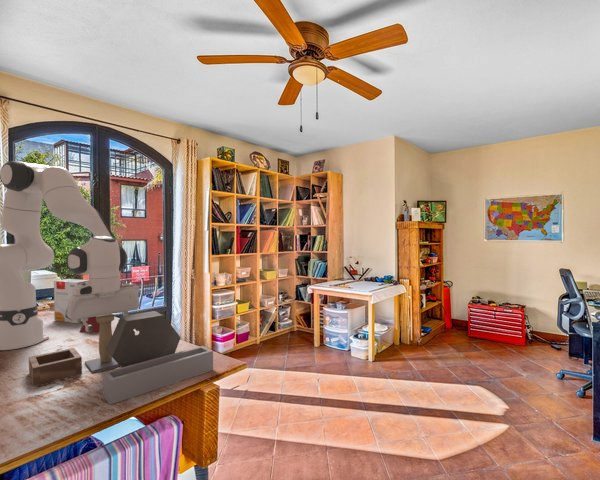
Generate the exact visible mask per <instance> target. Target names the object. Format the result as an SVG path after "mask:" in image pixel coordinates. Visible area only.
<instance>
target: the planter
mask: <svg viewBox="0 0 600 480" xmlns="http://www.w3.org/2000/svg"><path fill="white" fill-rule="evenodd" d="M118 320H119V321H118V322H117V324H116V326H115V328H114V331H113V332H112V337H111V340H110V342H109V344H108V347H107V349H106V350H107V351H108V353H109V354H110V355H111V356H112V358H113V359H114V360H115V361H116V362H117V363H118V364H119V365H120V366H119V367H120V368H122V367H126V366H129V365H133V364H137V363H141V362H144V361H148V360H152V359H155V358H159V357H163V356H167V355H170V354H174V353H176V351H177V348H178V347H179V346H178V345H179V343H180V340H181V335H180V334H179V332H177V331H176V329H175V328H174V327H173V326H172V325H171V323H170V322H169V320H167V318H166V317H165V315H164V314H161V313H160V312H158V311H156V310H152V311H146V312H145V311H144V312H140V313H134V314H133V313H132V314H128V315H126V316H123V315H122V316H120V317H119V319H118ZM135 331H136V332H139V333H138V334H136V332H135Z"/></svg>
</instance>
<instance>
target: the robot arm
mask: <svg viewBox="0 0 600 480" xmlns="http://www.w3.org/2000/svg"><path fill="white" fill-rule="evenodd" d="M0 182H1V184H2V185H3V186H4V188H6V192H5V196H4V200H3V206H2V214H1V221H0V224H1V228H2V229H3V230H4V231H5V232H6V233H8V234H10V235H12V236H14V243H2V244H0V351H9V350H10V351H11V350H17V349H22V348H26V347H30V346H33V345H36V344H38V343H41V342H43V341H45V340H46V341H47V340H48V339H50V335H47V334H45V333H44V322H43V318H41V317H39V316H38V314H39V308H38V305H37V293H36V292H37V291H36V286H35V284H33V283H31V282H29V281H26V280H24V279H23V278H22V276H21V272H30V271H31V272H32V271H38V270H41V269H45V268H48V267H50V266H51V265H52V264H53V262H54V259H55V253H54V249H52V247H50V246H49V245H48V244H47V243H46V242H45V241H44V239H43V237H42V234H41V229H40V227H41V224H40V223H41V215H42V214H41V213H42V207H43V205H42V204H43V200H44V203H45V205H46V208H47V210H48V211H49V212H50V214H52V215H53V216H54V217H56V218H57V219H58V220H59V219H60V220H62V221H65V222H70V223H74V224H76V225H78V226H81V227H83V228H85V229H87V230H88V231H89V232H91V235H93V236H91V237H89V239H88V242H86V243H84V244H81V245H80V246H77V247H73V248H72V249H70V251H69V252H68V254H67V256H66V265H67V269H68V270H69V271H70V272H71V273H73V274H75V275H79V276H80V275H81V276H85V275H88V280H89V281H88V282H85V283H82V284H80V285H77V286H74V287H72V293H73V295H72V296H71V297H70V298H69V301H68V307H67V316H68V318H70V319H71V320H75V319H81V321H82V322H81V323H83V325H85V329H86V332H85V333H89V332H88V331H92V325H88V324H87V323H86V321H88V317H94V316H100V315H107V314H113V315H114V314H119V313H121V314H122V316H126V315H129V312H130V311H135V310H138V309H139V308H140V299H139V293H140V286H139V285H138V284H137V283H135V282H130V283H121V271H122V270H123V269H124V268H125V266H126V265H127V262H128V255H127V251H126V250H125V248H124V247H123V246H122V245H121V244H120V243H119V242H118V239H116V237H115V235H114V234H113V232H112V231H111V228H110V227H109V225H108V224H107V222H106V220H105V218H104V217H103V216H102V214H101V213H100V211H98V209H96V208H95V207H93V206H92V205H91V204H90V203H89V202H88V201H87V200H86V198H85V197H84V195H83V193H82V192H81V189H80V187H79V185H78V183H77V181H76V179H75V178H74V175H73V173H71V172H70V171H69V169H67V168H64V167H62V166H59V165H58V166H56V165H55V166H53V165H52V166H51V165H50V166H49V165H46V164H42V163H41V164H39V163H32V162H23V161H21V160H10V161H7V162H6V163H4V164H3V165H2V166H1V168H0ZM118 321H119V319H118Z"/></svg>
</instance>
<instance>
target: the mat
mask: <svg viewBox="0 0 600 480" xmlns="http://www.w3.org/2000/svg"><path fill="white" fill-rule="evenodd" d="M100 359H101V358H100V357H99V358H98V357H97V358H95V359H89V360H85V361H84V365H85V366H86V367H87V369H88V370H89V371H90V372H91V374H94V373H98V372H102V371H105V370H107V371H108V370H111V369H114V368H116V367H117V368H119V367H121V366H120V365H119V364H118V363H117V362H116V361H115V360H114V359H113V358H112V360H111V361H110V362H107V363H101V362H100Z"/></svg>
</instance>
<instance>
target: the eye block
mask: <svg viewBox="0 0 600 480" xmlns="http://www.w3.org/2000/svg"><path fill="white" fill-rule="evenodd" d="M82 359H83V357H82V355H81V354H80V353H79V352H78V351H77V350H76V348H75V347H72V348H71V347H70V348H67V349H62V350H57V351H51V352H47V353H43V354H37V355H33V356H28V374H29V378H30V380H31V383H32V386H33V387H34V386H38V385H42V384H46V383H49V382H53V381H57V380H61V379H65V378H68V377H74V376H77V375H81V374H83V363H82V362H83V361H82Z"/></svg>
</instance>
